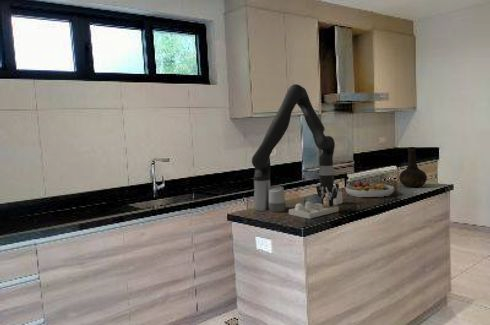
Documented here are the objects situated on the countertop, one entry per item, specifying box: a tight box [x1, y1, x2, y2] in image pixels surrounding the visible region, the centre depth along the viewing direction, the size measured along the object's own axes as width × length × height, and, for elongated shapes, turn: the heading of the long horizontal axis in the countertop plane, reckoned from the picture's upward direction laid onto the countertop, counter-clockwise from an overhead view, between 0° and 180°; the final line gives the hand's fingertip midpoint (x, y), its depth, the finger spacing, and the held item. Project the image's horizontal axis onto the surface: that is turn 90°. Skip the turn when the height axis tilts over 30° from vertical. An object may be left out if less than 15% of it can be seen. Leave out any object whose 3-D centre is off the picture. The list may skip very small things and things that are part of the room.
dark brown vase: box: [398, 146, 428, 188], centre depth 271 cm, size 18×18×28 cm
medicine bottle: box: [326, 182, 343, 206], centre depth 228 cm, size 7×7×12 cm
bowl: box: [345, 180, 395, 198], centre depth 252 cm, size 30×30×8 cm
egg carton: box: [288, 202, 340, 219], centre depth 204 cm, size 15×22×3 cm
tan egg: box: [323, 196, 330, 208], centre depth 205 cm, size 4×4×6 cm
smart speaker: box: [268, 185, 287, 213], centre depth 214 cm, size 10×9×14 cm
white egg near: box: [294, 202, 304, 211], centre depth 203 cm, size 4×4×6 cm
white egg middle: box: [304, 201, 314, 209], centre depth 207 cm, size 4×4×6 cm
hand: (327, 205), depth 205 cm, fingers closed on tan egg, 4 cm apart
